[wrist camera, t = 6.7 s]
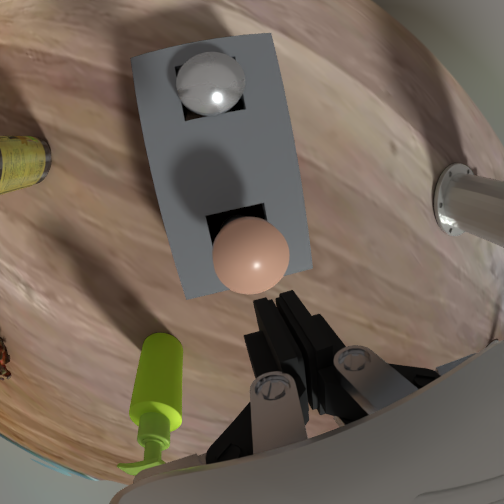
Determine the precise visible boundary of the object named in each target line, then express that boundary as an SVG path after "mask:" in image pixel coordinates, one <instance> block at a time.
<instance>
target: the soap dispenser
mask: <svg viewBox="0 0 504 504" xmlns="http://www.w3.org/2000/svg"><path fill="white" fill-rule="evenodd" d="M182 365H183V347H182V345H181V343H180V342H179V340H178V339H176V338H175V337H174V336H172V335H169V334H166V333H155V334H152V335H150V336H148V337H147V338H146V339H145V341H144V343H143V347H142V351H141V356H140V360H139V365H138V369H137V374H136V379H135V384H134V389H133V394H132V399H131V404H130V410H129V416H130V418H131V420H132V421H133V422H134V423H135V424H136V425H137V426H139V428H138V437H137V441H138V443H139V444H140V445H141V446H142V447H144V448H145V451H144V461H140V462H135V463H127V464H125V463H119V464H118V465H117V467H118V468H120V469H121V470H123V471H124V472H126V473H127V474H130V475H137V474H138V473H139V472H140V471H142V470H144V469H147V468H150V467H154V466H158V465H161V464H165V462H164V461H162V460H161V451H162V450H166V449H167V448H168V447H169V446H170V432H171V431H174V430H176V429H177V428H178V427H179V426H180V425H181V423H182Z"/></svg>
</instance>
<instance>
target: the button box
mask: <svg viewBox="0 0 504 504" xmlns="http://www.w3.org/2000/svg"><path fill="white" fill-rule="evenodd" d="M205 52H219V53H223V54H226V55H228V56H230V57H232V58H233V59H234V60H236V61H237V62H238V63H239V65H240V66H241V68H242V69H243V72H244V75H245V89H244V92H243V94H242V96H241V97H242V102H243V107H244V110H239V111H233V112H227V113H222V114H220V115H216V116H207V117H202V118H197V119H193V120H188V121H185V118H184V113H183V108H182V103H181V100H180V98H179V95H178V92H177V88H176V79H177V75H178V72H179V70H180V69H181V67H182V66H183V65H184V63H185V62H186V61H188V60H189V59H190V58H192V57H194V56H196V55H198V54H201V53H205ZM131 65H132V72H133V79H134V86H135V92H136V98H137V104H138V110H139V115H140V121H141V126H142V131H143V137H144V142H145V146H146V151H147V156H148V160H149V165H150V169H151V174H152V178H153V182H154V187H155V191H156V195H157V199H158V203H159V207H160V211H161V215H162V219H163V222H164V226H165V230H166V233H167V237H168V241H169V244H170V248H171V251H172V255H173V258H174V261H175V265H176V268H177V271H178V275H179V278H180V281H181V284H182V287H183V291H184V294H185V297H186V300H188V299H192V298H196V297H201V296H205V295H209V294H213V293H217V292H222V291H226V290H230V289H229V288H227V287H226V286H225V285H224V284H223V283H222V282H221V281H220V280H219V278H218V276H217V274H216V272H215V269H214V264H213V257H212V249H213V245H212V241H211V237H210V233H209V228H208V224H207V220H206V216H207V215H212V214H216V213H220V212H224V211H229V210H233V209H238V208H242V207H247V206H251V205H256V204H260V203H262V206H263V211H264V217H265V220H266V221H268V222H269V223H271V224H272V225H273V226H274V227H275V228H276V229H277V230H278V231H279V232H280V233H281V234H282V235H283V236H284V238H285V240H286V241H287V244H288V247H289V254H290V256H289V264H288V267H287V270H286V272H285V274H284V275H283V276H286V275H289V274H293V273H297V272H301V271H305V270H308V269H312V268H313V265H312V257H311V248H310V240H309V233H308V225H307V218H306V211H305V204H304V197H303V190H302V184H301V177H300V171H299V165H298V159H297V154H296V148H295V142H294V137H293V131H292V126H291V121H290V116H289V111H288V106H287V101H286V96H285V91H284V87H283V82H282V77H281V73H280V68H279V64H278V60H277V56H276V51H275V47H274V43H273V39H272V35H271V33H262V34H249V35H239V36H230V37H223V38H216V39H209V40H203V41H198V42H192V43H187V44H182V45H178V46H173V47H169V48H165V49H161V50H157V51H153V52H149V53H146V54H142V55H139V56H135V57H132V58H131Z"/></svg>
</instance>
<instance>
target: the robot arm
mask: <svg viewBox="0 0 504 504" xmlns="http://www.w3.org/2000/svg"><path fill="white" fill-rule="evenodd" d="M434 210H435V216H436V220H437V223H438V225H439V227H440V228H441V230H442V231H443V232H445V233H446V234H448V235H451V236H459V235H461V234H463V233H464V232H468V233H470V234H473V235H475V236H478V237H480V238H483V239H485V240H487V241H490V242H492V243H494V244H497V245H499V246H501V247H503V248H504V181H500V180H496V179H491V178H486V177H481V176H476V175H474V174H473V172H472V171H471V169H470V168H469V167H468V166H466V165H464V164H460V163H454V164H451V165H449V166H448V167H447V168H446V169H445V170H444V171H443V172H442V174H441V176H440V178H439V180H438V183H437V186H436V190H435V197H434ZM253 303H254V308H255V313H256V317H257V322H258V326H259V331H258V332H254V333H251V334H247V335H244V339H245V343H246V346H247V350H248V354H249V358H250V361H251V365H252V368H253V371H254V375H255V378H256V379H255V380H254V381H253V383H252V384H251V386H250V402H249V404H248V405H247V406H246V407H245V408H244V410H243V411H242V412H241V413H240V414H239V415H238V416H237V418H236V419H235V420H234V421H233V422H232V423H231V424H230V426H229V427H228V428H227V429H226V430H225V431H224V432H223V433H222V434H221V436H220V437H219V438H218V439H217V440H216V441H215V442H214V443H213V444H212V445H211V446H210V448H209V449H208V451H207V453H204V454H201V455H199V456H198V455H197V454H193V455H190V456H187V457H184V458H181V459H178V460H175V461H171V462H168V463H165V464H161V465H158V466H154V467H150V468H147V469H144V470H142V471H140V472H139V473H138V474H137V475H136V476H135V478H134V480H133V484H131V485H129V486H127V487H125V488H124V489H122V490H120V491H119V492H118V493H117V494H116V495H115V496H114V497H113V498H112V500H111V501H110V503H109V504H504V340H502V341H499V342H497V343H495V344H492V345H490V346H488V347H487V348H485V349H483V350H481V351H479V352H478V353H475V354H471V355H468V356H466V357H463V358H461V359H458V360H456V361H453V362H450V363H447V364H445V365H442V366H439V367H436V370H435V371H433V370H431V369H426V368H418V367H410V366H402V365H395V364H388V363H386V362H385V361H384V360H383V359H382V358H380V357H379V356H378V355H377V354H375V353H374V352H373V351H372V350H370V349H369V348H367V347H364V346H358V345H353V346H348V347H346V346H345V345H344V344H343V342H342V341H341V340H340V338H339V337H338V336H337V335H336V333H335V332H334V331H333V330H332V328H331V327H330V326H329V324H328V323H327V322H326V321H325V319H324V318H323V317H322V316H321V315H320V314H317V315H313V316H311V314H310V313H309V312H308V310H307V309H306V308H305V306H304V305H303V303H302V302H301V301H300V299H299V298H298V297H297V295H296V294H295V292H294V291H293V290H291V291H287V292H284V293H280V294H279V298H276V305H275V303H274V302H273V300H272V299H271V300H267V298H266V297H265V298H262V299H258V300H254V301H253ZM276 306H277V307H276ZM308 402H309V404H310V406H311V408H312V410H314V409H317V410H318V412H319V414H320V415H323V414H325V413H326V414H329V415H333V416H334V420H335V422H336V423H337V424H338V426H339V428H337V429H334V430H332V431H329V432H326V433H324V434H321V435H318V436H315V437H312V438H309V439H308V437H307V433H306V428H305V425H306V424H307V422H308V420H309V414H308V411H309V407H308Z"/></svg>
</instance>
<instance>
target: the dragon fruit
mask: <svg viewBox="0 0 504 504" xmlns="http://www.w3.org/2000/svg"><path fill="white" fill-rule="evenodd" d="M4 348H5V346H4V343H3V341H2V340H1V339H0V375H2V376H5V377H7V379H9V378H10V377H11V373H10V372H9V371H8V370H7V368H6V366H5V364H7V363H8V362H10V355H8V353H7V352H6V351H5V350H4ZM0 379H1V380H4V379H3V378H0Z"/></svg>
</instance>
